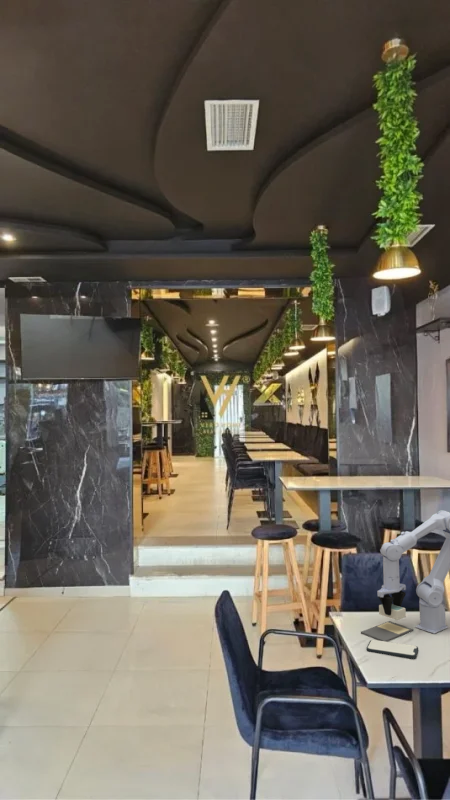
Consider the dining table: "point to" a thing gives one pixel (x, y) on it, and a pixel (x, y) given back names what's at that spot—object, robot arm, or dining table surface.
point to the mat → (387, 631)
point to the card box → (394, 612)
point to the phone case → (393, 649)
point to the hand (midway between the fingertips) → (392, 612)
